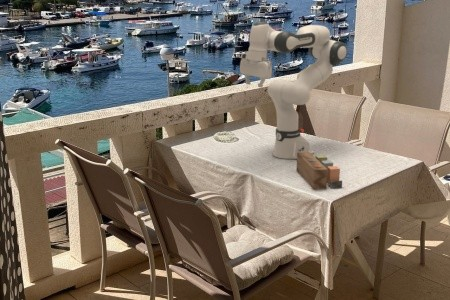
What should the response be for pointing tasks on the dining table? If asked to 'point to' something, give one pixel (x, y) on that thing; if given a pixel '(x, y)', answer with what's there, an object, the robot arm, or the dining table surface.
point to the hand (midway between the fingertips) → (253, 85)
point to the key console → (314, 171)
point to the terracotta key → (333, 174)
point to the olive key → (321, 158)
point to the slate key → (327, 163)
